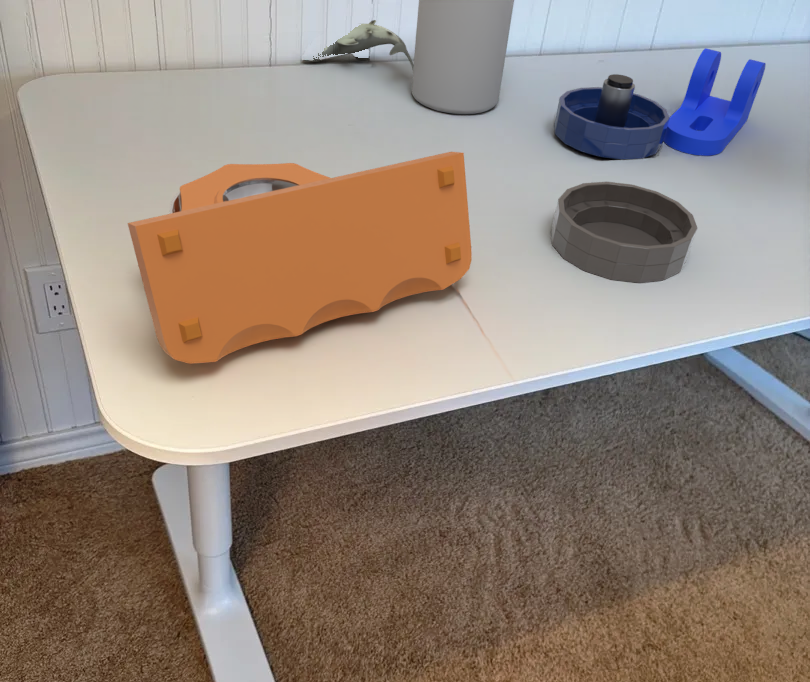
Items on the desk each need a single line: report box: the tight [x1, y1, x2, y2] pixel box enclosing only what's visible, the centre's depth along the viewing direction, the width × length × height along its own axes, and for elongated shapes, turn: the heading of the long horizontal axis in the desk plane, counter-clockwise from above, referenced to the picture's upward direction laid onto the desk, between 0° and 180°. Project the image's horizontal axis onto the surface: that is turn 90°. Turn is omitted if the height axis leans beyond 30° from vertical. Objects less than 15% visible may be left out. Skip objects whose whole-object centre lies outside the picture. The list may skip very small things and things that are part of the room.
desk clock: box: [127, 151, 473, 365], centre depth 76 cm, size 12×30×20 cm
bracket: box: [663, 48, 766, 157], centre depth 113 cm, size 18×8×9 cm, turn 149°
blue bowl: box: [553, 86, 671, 160], centre depth 110 cm, size 14×14×4 cm
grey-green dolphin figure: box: [313, 19, 414, 70], centre depth 124 cm, size 14×17×8 cm
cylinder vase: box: [411, 0, 515, 115], centre depth 110 cm, size 12×12×25 cm
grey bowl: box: [550, 181, 698, 284], centre depth 87 cm, size 14×14×4 cm
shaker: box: [594, 73, 636, 127], centre depth 108 cm, size 4×4×8 cm
